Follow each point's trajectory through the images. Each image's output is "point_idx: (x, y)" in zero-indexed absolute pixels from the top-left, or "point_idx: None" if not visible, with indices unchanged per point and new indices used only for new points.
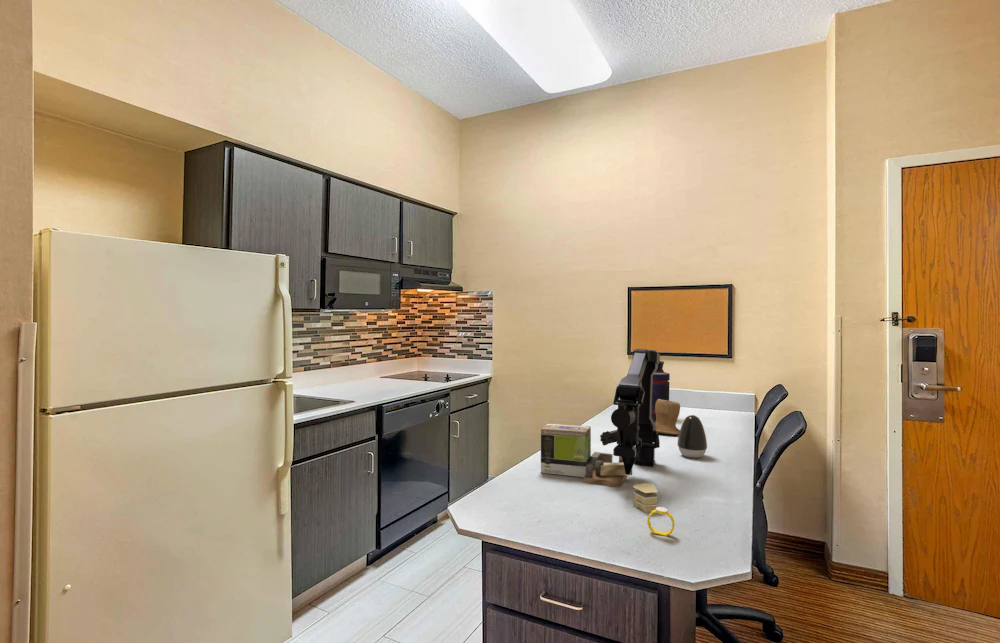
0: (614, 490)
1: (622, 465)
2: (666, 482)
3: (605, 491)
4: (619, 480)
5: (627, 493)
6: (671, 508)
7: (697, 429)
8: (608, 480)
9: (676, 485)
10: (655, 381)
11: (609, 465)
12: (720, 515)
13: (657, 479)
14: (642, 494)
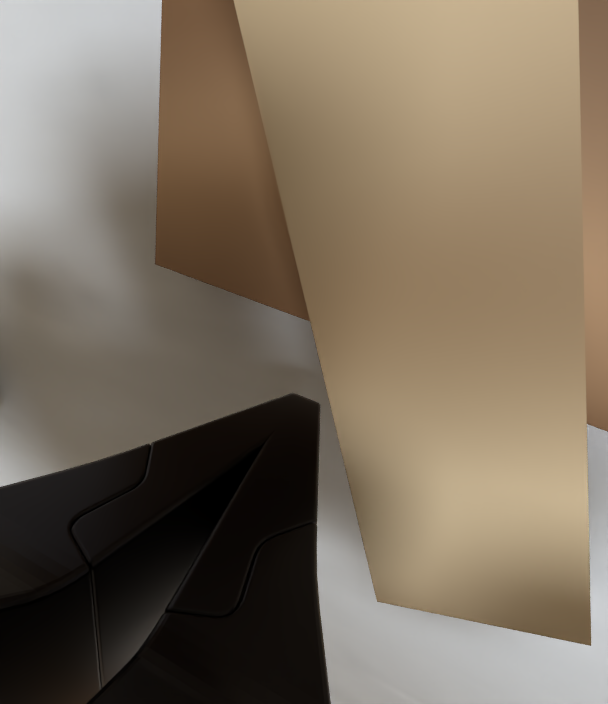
0: (102, 185)
1: (336, 425)
2: (418, 679)
3: (44, 81)
4: (215, 268)
5: (85, 297)
6: (2, 473)
7: None
8: (168, 106)
9: (354, 691)
10: None
11: (257, 84)
12: None
13: (504, 669)
14: None
